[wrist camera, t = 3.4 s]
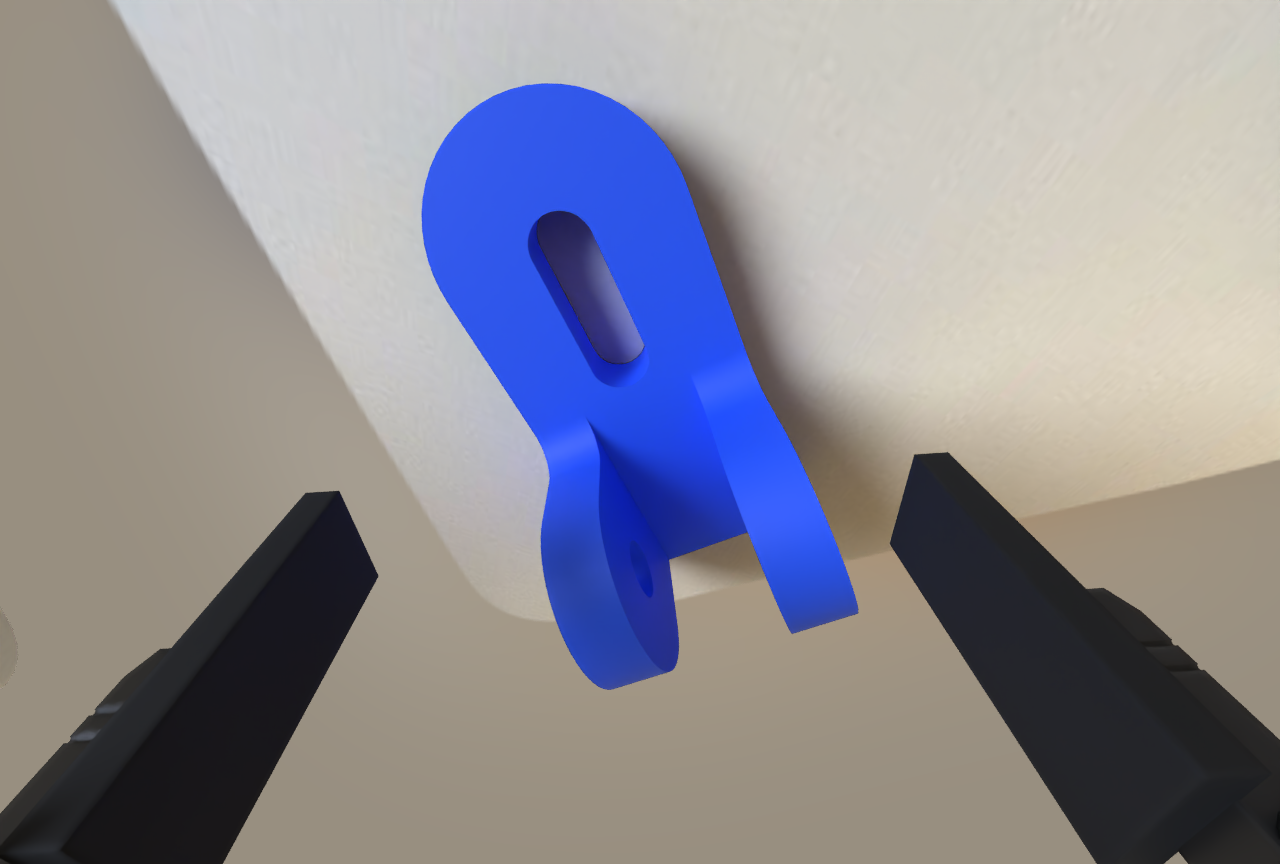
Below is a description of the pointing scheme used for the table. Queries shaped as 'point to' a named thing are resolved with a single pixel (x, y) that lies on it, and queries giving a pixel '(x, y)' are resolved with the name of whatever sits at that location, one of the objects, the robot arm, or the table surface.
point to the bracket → (621, 376)
